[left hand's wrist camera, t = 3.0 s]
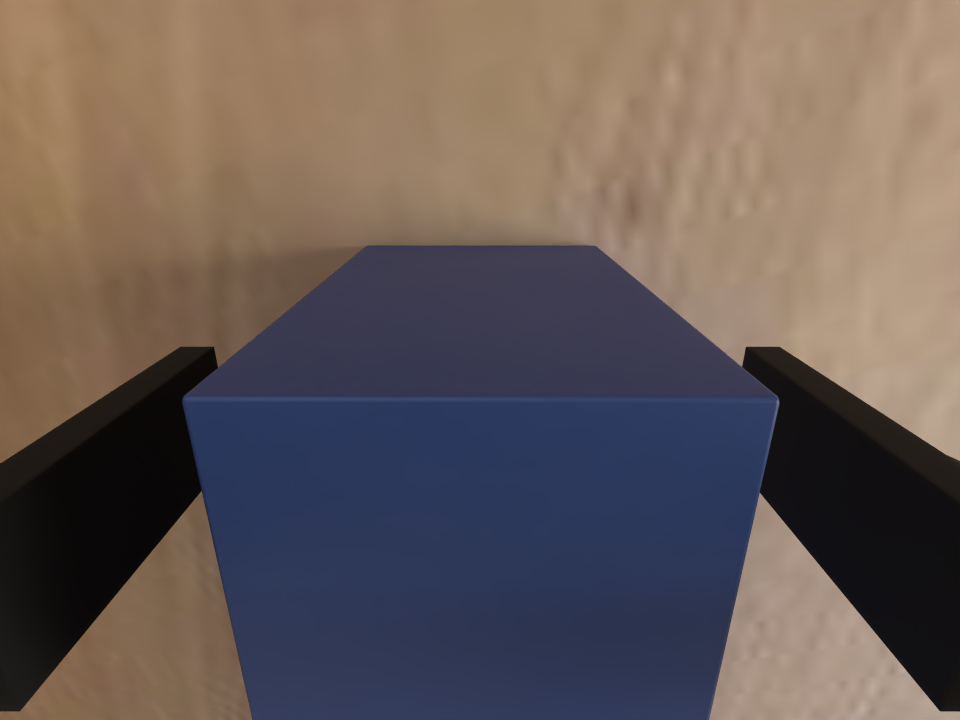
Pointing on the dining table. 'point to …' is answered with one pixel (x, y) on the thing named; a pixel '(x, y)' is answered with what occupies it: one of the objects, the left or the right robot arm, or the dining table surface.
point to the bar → (480, 492)
